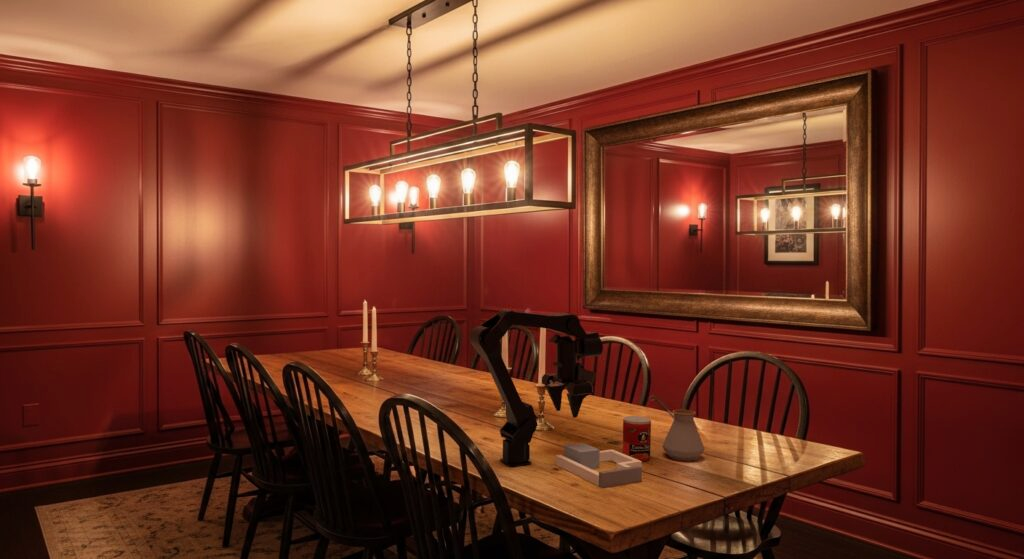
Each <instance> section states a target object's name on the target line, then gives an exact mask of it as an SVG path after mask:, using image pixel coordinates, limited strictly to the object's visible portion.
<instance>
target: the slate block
mask: <svg viewBox="0 0 1024 559" xmlns="http://www.w3.org/2000/svg"><path fill="white" fill-rule="evenodd" d="M563 446H564V447H563V456H564V457H566V458H569V459H571V460H573V461H575V462H577V463H579V464H581V465H584V466H586V467H588V468H590V469H592V470H596V469H600V462H599V458H600V451H601V450H600V449H599V448H596V447H594V446H591V445H589V444H587V443H584V442H579V443H578V442H577V443H572V444H571V443H570V444H564V445H563Z"/></svg>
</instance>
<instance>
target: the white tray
mask: <svg viewBox="0 0 1024 559" xmlns="http://www.w3.org/2000/svg"><path fill="white" fill-rule="evenodd" d="M608 461H612V462H614V463H616V466H615V467H616V468H614V469H608V470H602V471H596V470H595V469H590V468H588V467H586V466H584V465H581V464H579V463H577V462H575V461H573V460H571V459H569V458H566V457H564V455H561V454H556V455H555V465H556V467H557V466H558V467H560V468H562V469H564V470H566V471H568V472H569V473H572V474H574V475H575V476H577V477H580V478H582V479H584V480H586V481H588V482H590V483H592V484H593V485H596V486H598V487H600V488H602V489H603V488H609V487H614V486H615V487H616V486H621V485H622V486H623V485H627V484H632V483H638V482H639V483H640V482H643V481H642V480H643V479H642V478H643V477H642V476H643V465H642V462H643V461H640V460H637V459H635V458H632V457H630V456H627V455H625V454H623V452H620V451H617V450H615V449H612V448H611V449H605V450H600V458H599V463H601V462H608Z"/></svg>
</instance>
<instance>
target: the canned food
mask: <svg viewBox="0 0 1024 559" xmlns="http://www.w3.org/2000/svg"><path fill="white" fill-rule="evenodd" d="M622 421H623V422H622V454H625V455H627V456H630V457H632V458H635V459H637V460H640V461H642V462H646V461H649V460H650V457H651V444H652V443H651V442H652V440H651V439H652V438H651V436H652V419H651V418H649V417H647V416H642V415H640V416H639V415H626V416H624V417H623V420H622Z"/></svg>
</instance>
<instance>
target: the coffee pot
mask: <svg viewBox="0 0 1024 559" xmlns="http://www.w3.org/2000/svg"><path fill="white" fill-rule="evenodd" d="M651 398H652V399H651ZM649 400H650V401H651V402H652V401H655V402H657V404H658V405H659V406H660V407H661V408H662V409H663V410H664V411H665V412H667V413H668V415H670V417H671V418H672V419H673V421H672V423H671V425H670V428H669V430H668V433H667V434H666V436H665V438H664V441H663V443H662V449H663V451H664V452H665V454H667V455H668V456H669V458H671V459H673V460H677V461H684V462H685V461H690V462H691V461H696V460H697V459H698V458H699V457H701V455H703V454H704V451H705V445H704V443H703V441H702V438H701V436H700V433H699V431H698V428H697V425H696V423H695V421H694V418H695V415H697V413H696V411H695V410H692V409H674V410H672V411H671V410H670V409H669V408H668V406H666V404H665V403H664V402H663V401H661V400H660V398H659V397H657V395H654V394H651V396H650V397H649Z"/></svg>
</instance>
